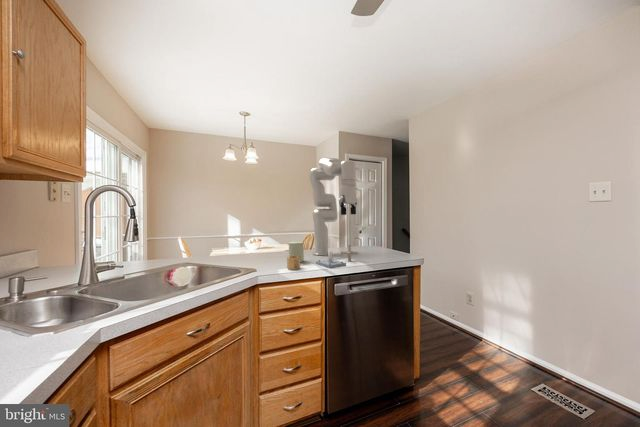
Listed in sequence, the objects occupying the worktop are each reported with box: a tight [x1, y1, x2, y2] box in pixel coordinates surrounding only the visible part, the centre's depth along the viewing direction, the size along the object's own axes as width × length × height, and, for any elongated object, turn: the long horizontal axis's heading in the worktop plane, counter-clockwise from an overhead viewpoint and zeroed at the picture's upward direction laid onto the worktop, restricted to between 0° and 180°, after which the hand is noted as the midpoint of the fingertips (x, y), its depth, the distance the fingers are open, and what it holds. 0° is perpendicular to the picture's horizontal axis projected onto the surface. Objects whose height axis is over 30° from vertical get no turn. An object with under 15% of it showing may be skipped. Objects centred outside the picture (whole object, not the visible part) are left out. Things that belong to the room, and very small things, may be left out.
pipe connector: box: [340, 244, 359, 262], centre depth 163 cm, size 10×10×10 cm
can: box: [288, 240, 305, 263], centre depth 166 cm, size 9×9×12 cm
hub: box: [286, 255, 301, 271], centre depth 146 cm, size 6×6×6 cm
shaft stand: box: [315, 250, 347, 269], centre depth 153 cm, size 14×11×8 cm
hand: (348, 214), depth 150 cm, fingers open, 9 cm apart
